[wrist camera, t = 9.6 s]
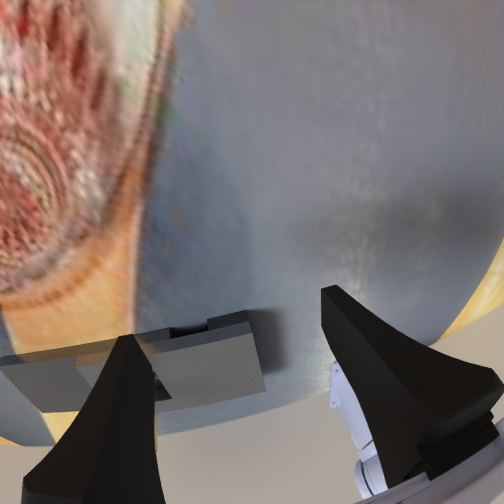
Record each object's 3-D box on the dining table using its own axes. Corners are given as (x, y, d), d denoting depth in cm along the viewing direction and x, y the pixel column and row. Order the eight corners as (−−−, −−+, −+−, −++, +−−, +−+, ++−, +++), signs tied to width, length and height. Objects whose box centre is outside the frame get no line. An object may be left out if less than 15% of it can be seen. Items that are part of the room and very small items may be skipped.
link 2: (260, 370, 28) (265, 391, 26) (120, 397, 27) (119, 417, 25) (246, 310, 24) (252, 332, 22) (80, 345, 23) (75, 367, 21)
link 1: (197, 384, 28) (198, 394, 27) (44, 404, 27) (42, 412, 26) (169, 327, 24) (169, 339, 23) (0, 357, 22) (-3, 366, 21)
